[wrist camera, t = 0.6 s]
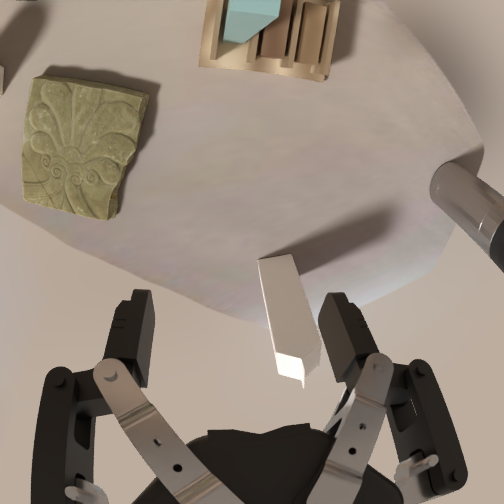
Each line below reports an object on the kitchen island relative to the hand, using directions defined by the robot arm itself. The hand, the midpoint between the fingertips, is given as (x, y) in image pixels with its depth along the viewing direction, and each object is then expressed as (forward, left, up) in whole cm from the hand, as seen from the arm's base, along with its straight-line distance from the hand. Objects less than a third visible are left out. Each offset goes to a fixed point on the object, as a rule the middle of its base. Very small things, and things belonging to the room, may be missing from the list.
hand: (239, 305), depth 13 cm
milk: (-11, +23, -30) cm, 39 cm away
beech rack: (-4, -15, -30) cm, 34 cm away
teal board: (0, -15, -29) cm, 33 cm away
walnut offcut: (-4, -15, -29) cm, 33 cm away
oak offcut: (-8, -15, -29) cm, 34 cm away
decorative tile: (+21, +2, -31) cm, 37 cm away
